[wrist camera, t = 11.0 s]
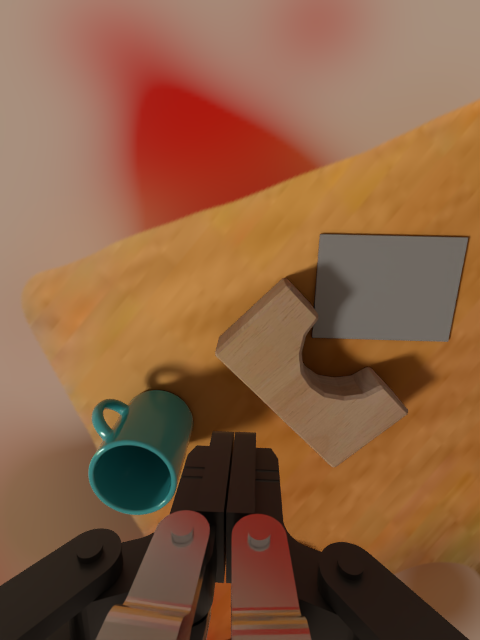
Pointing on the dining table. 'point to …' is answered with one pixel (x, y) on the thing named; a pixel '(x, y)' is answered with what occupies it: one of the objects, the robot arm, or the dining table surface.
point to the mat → (387, 286)
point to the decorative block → (305, 378)
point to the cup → (140, 451)
